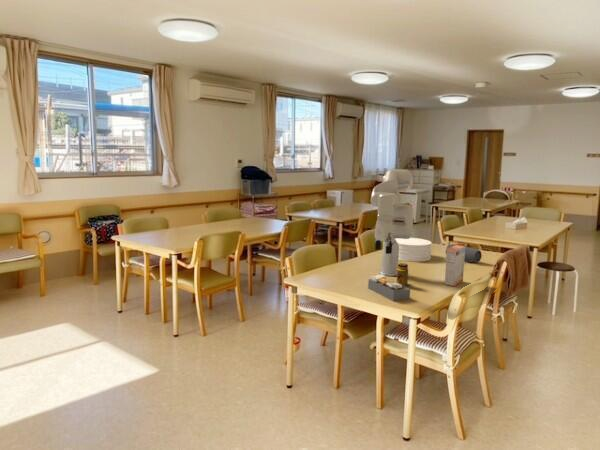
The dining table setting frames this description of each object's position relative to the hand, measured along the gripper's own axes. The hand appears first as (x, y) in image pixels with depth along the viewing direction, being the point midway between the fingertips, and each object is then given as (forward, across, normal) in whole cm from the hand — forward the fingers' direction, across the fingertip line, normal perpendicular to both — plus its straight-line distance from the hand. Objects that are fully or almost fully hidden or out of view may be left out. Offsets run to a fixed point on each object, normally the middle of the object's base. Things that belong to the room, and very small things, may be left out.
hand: (383, 251), depth 232 cm
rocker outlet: (+17, +7, +3) cm, 18 cm away
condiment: (+23, -10, +21) cm, 33 cm away
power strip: (+23, 0, +4) cm, 23 cm away
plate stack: (+22, -68, +69) cm, 99 cm away
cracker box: (+23, -4, +51) cm, 56 cm away
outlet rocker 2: (+17, 0, +3) cm, 17 cm away
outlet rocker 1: (+16, -7, +3) cm, 18 cm away
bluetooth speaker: (+22, -46, +97) cm, 110 cm away
